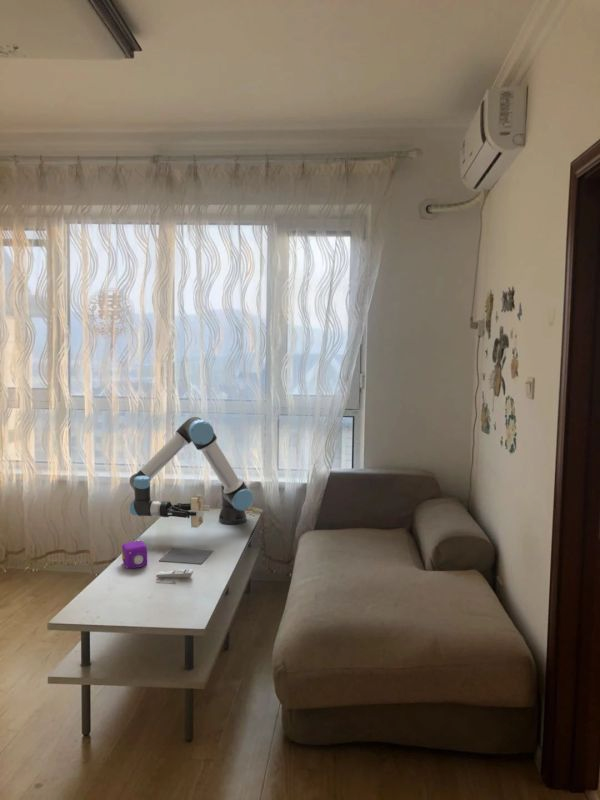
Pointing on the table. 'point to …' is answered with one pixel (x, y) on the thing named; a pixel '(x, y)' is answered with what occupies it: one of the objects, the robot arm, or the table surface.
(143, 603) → the table surface
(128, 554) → the toy camera
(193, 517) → the tile
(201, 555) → the mat
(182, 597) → the table surface
